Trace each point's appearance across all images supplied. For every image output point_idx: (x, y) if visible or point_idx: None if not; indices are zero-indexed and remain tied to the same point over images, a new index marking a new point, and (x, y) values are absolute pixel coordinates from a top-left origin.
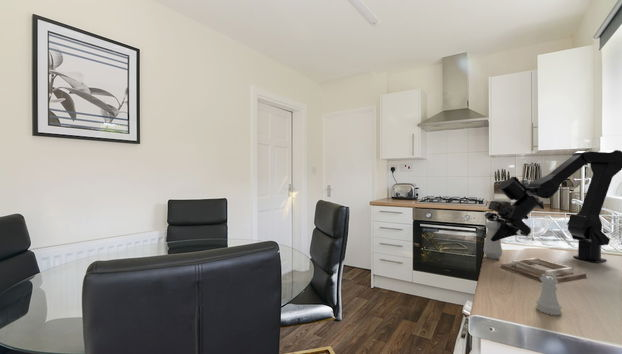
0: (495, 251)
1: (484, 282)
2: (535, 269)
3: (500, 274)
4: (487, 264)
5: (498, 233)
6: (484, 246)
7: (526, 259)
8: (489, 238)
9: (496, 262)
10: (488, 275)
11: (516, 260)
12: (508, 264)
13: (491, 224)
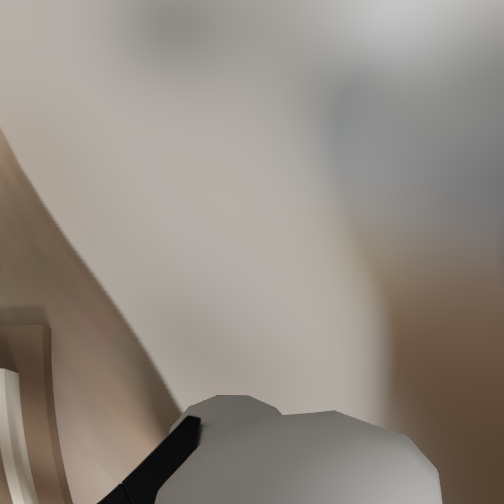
0: (170, 432)
1: (4, 148)
2: None
3: (3, 245)
4: (111, 304)
5: (123, 485)
6: (267, 406)
7: (11, 478)
8: (224, 420)
9: (130, 391)
10: (20, 194)
11: (2, 399)
12: (32, 367)
13: (199, 456)
